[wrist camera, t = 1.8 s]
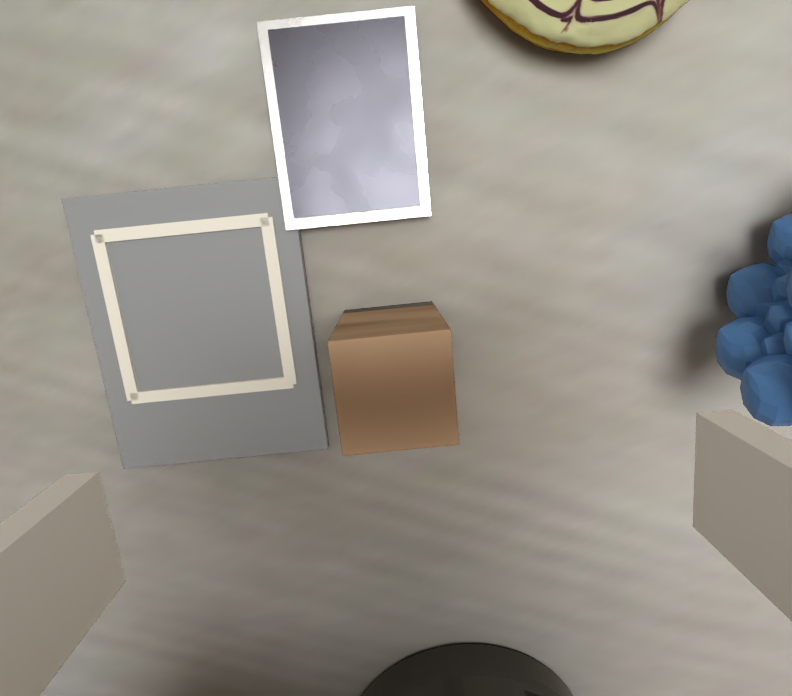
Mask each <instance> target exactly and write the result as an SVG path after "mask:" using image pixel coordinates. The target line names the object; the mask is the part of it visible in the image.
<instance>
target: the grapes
mask: <svg viewBox="0 0 792 696" xmlns="http://www.w3.org/2000/svg"><path fill="white" fill-rule="evenodd" d="M767 248H768V253H769V258H770V259H771V260H772V261H773V262H774V263H775V264H776V266H775V265H771V264H767V263H760V264H754V265H749V266H747V267H744V268H742V269H740V270H738V271H736V272H735V273H733V274H732V275H731V276H730V279H729V281H728V286H727V292H726V296H727V301H728V306H729V308H730V309H731V311H732V312H733V313H734V314H735V315H736V317H737V318H738V319H736V320H733V321H731V322H729V323H727V324H725V325H724V326H723V327H722V328H720V329H719V331H718V334H717V336H716V343H715V352H716V357H717V362H718V363H719V365H720V366H721V367H722V369H723V370H724V371H725V373H726V374H729V375H731V376H733V377H736V378H738V379H740V380H742V381H741V386H740V389H741V394H742V400H743V404H744V406H745V407H746V408H747V410H748V411H749V412H750V414H751V415H752V416H753V418H755V419H757V420H759V421H761V422H763V423H765V424H767V425H770V426H791V425H792V213H789V214H787V215H785V216H783V217H781V218H779V219H777V220H775V221H774V222H773V224H772V226H771V228H770V230H769V235H768V240H767Z"/></svg>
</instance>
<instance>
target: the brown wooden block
mask: <svg viewBox="0 0 792 696" xmlns="http://www.w3.org/2000/svg"><path fill="white" fill-rule="evenodd" d="M328 349H329V357H330V364H331V372H332V380H333V387H334V395H335V403H336V411H337V418H338V426H339V434H340V441H341V449H342V456H347V455H357V454H367V453H378V452H388V451H398V450H408V449H418V448H428V447H438V446H448V445H458V444H459V434H458V420H457V407H456V394H455V381H454V368H453V355H452V342H451V329H450V328H449V326H448V325H447V323H446V322H445V320H444V319H443V317H442V316H441V314H440V313H439V312H438V310H437V309H436V307H435V306H434V304H433V303H432V301H431V302H421V303H411V304H401V305H391V306H381V307H371V308H361V309H351V310H345V311H344V313H343V315H342V316H341V318H340V320H339V322H338V324H337V325H336V327H335V329H334V331H333V333H332V334H331V336H330V338H329V340H328Z"/></svg>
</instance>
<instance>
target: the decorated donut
mask: <svg viewBox="0 0 792 696" xmlns="http://www.w3.org/2000/svg"><path fill="white" fill-rule="evenodd" d="M481 1H482V2H483V3H484V4H485V5H486V6H487V7H488V8H489V9H490V10H491V11H492V12H493V13H494V14H495V15H496V16H497V17H498V18H499V19H500V20H501V21H502V22H503V23H505V24H506V25H507V26H508V27H509V28H510V29H511V30H512V31H513V32H515V33H516V34H518V35H520V36H521V37H523V38H524V39H526V40H528V41H530V42H532V43H533V44H534V45H536V46H539V47H542V48H545V49H548V50H553V51H559V52H564V53H576V54H586V53H588V54H589V53H591V54H598V53H599V54H601V53H606V52H610V51H614V50H617V49H620V48H623V47H625V46H627V45H629V44H631V43H634V42H635V41H637V40H639V39H641V38H643V37H644V36H646V35H648V34H649V33H651V32H652V31H653V30H655V29H656V28H658V27H659V26H660V25H661V24H663V23H664V22H665V21H667V20H668V19H669V18H670V17H671V16H672V15H673V14H674V13H675V12H676V11H677V10H678V9H679V8H680V7H682V6H683V5H684V4H686V3H687V2H688V1H689V0H481Z"/></svg>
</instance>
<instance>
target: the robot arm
mask: <svg viewBox="0 0 792 696" xmlns="http://www.w3.org/2000/svg"><path fill="white" fill-rule="evenodd" d="M693 527H694V528H695V529H696V530H697V531H698V532H699V533H700V534H701V535H702V536H704V537H705V538H706V539H707V540H708V541H709V542H710V543H711V544H712V545H713V546H714V547H715V548H716V549H717V550H718V551H719V552H720V553H721V554H722V555H723V556H724V557H725V558H726V559H727V560H728V561H730V562H731V563H732V564H733V565H734V566H735V567H736V568H737V569H738V570H739V571H740V572H741V573H742V574H743V575H744V576H745V577H746V578H747V579H748V580H749V581H750V582H751V583H752V584H753V585H754V586H756V587H757V588H758V589H759V590H760V591H761V592H762V593H763V594H764V595H765V596H766V597H767V598H768V599H769V600H770V601H771V602H772V603H773V604H774V605H775V606H776V607H777V608H778V609H779V610H780V611H782V612H783V613H784V614H785V615H786V616H787V617H788V618H789V619H790V620H791V621H792V440H790V439H788V438H786V437H784V436H782V435H780V434H778V433H776V432H774V431H772V430H770V429H769V428H767V427H765V426H763V425H761V424H759V423H757V422H755V421H753V420H751V419H749V418H747V417H745V416H743V415H741V414H739V413H737V412H735V411H733V410H722V411H712V412H702V413H697V414H696V443H695V473H694V503H693ZM125 582H126V579H125V575H124V571H123V566H122V562H121V558H120V554H119V550H118V546H117V542H116V538H115V534H114V530H113V526H112V522H111V518H110V514H109V509H108V505H107V501H106V497H105V493H104V489H103V485H102V481H101V477H100V473H99V472H89V473H79V474H69V475H64V476H62V477H61V478H60V479H58V480H57V481H56V482H54V483H53V484H52V485H50V486H49V487H48V488H46V489H45V490H44V491H42V492H41V493H40V494H38V495H37V496H36V497H34V498H33V499H32V500H30V501H29V502H28V503H26V504H25V505H24V506H22V507H21V508H20V509H18V510H17V511H16V512H14V513H13V514H12V515H10V516H9V517H8V518H6V519H5V520H4V521H2V522H1V523H0V696H40V695H41V693H42V692H43V691H44V689H45V688H46V687H47V685H48V684H49V683H50V681H51V680H52V679H53V677H54V676H55V675H56V673H57V672H58V671H59V669H60V668H61V667H62V665H63V664H64V663H65V661H66V660H67V659H68V657H69V656H70V655H71V653H72V652H73V651H74V649H75V648H76V647H77V645H78V644H79V643H80V641H81V640H82V639H83V637H84V636H85V635H86V633H87V632H88V631H89V629H90V628H91V627H92V625H93V624H94V623H95V621H96V620H97V619H98V617H99V616H100V615H101V613H102V612H103V611H104V610H105V608H106V607H107V606H108V604H109V603H110V602H111V600H112V599H113V598H114V596H115V595H116V594H117V592H118V591H119V590H120V588H121V587H122V586H123V584H124V583H125ZM362 696H573V695H572V693H571V692H570V690H569V689H568V688H567V686H566V685H565V684H564V683H563V681H562V680H561V679H560V678H559V677H558V676H557V675H556V674H554V673H553V672H552V671H551V670H550V669H548V668H547V667H546V666H544V665H543V664H541V663H539V662H538V661H536V660H534V659H532V658H530V657H528V656H526V655H524V654H521V653H519V652H516V651H513V650H510V649H506V648H502V647H497V646H490V645H481V644H461V645H451V646H444V647H439V648H435V649H431V650H428V651H425V652H422V653H419V654H416V655H414V656H411V657H409V658H407V659H405V660H403V661H401V662H400V663H398V664H396V665H395V666H393V667H392V668H390V669H389V670H387V671H386V672H385V673H383V674H382V675H381V676H380V677H379V678H377V679H376V680H375V681H374V682H373V683H372V684H371V685H370V686H369V688H368V689H367V690H366V691H365V692H364V694H363V695H362Z"/></svg>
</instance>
